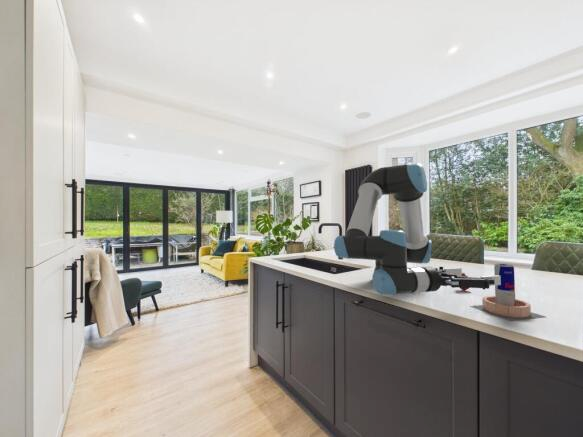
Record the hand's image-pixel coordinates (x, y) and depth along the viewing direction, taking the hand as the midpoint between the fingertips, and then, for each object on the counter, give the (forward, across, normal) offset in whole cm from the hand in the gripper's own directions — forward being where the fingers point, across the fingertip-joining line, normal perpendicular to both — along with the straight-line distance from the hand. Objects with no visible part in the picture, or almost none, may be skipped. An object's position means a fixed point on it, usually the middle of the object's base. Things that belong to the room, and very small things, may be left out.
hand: (478, 275), depth 83 cm
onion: (+20, -26, -13) cm, 36 cm away
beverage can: (+10, 0, -12) cm, 16 cm away
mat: (+10, 0, -13) cm, 17 cm away
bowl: (+10, 0, -12) cm, 16 cm away
